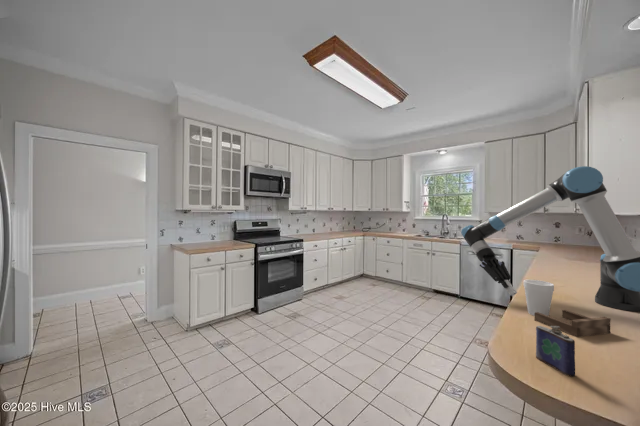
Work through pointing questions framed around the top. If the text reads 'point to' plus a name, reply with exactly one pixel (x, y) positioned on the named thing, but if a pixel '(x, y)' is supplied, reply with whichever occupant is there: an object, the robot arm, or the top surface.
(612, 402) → the top surface
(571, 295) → the top surface
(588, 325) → the corral
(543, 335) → the flask
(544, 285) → the foam cup
